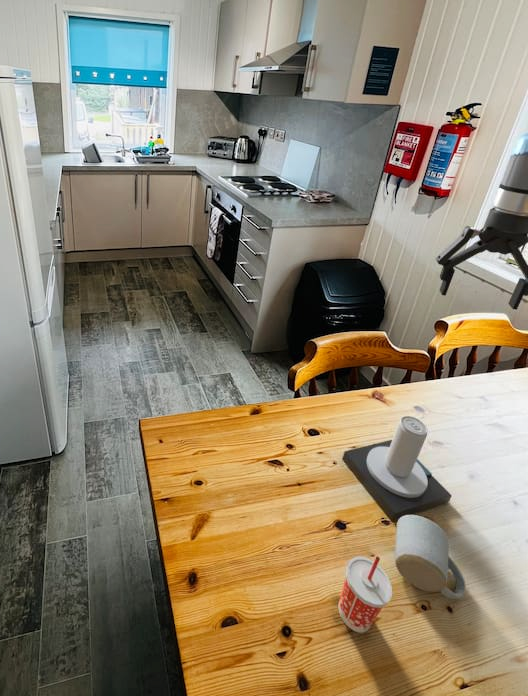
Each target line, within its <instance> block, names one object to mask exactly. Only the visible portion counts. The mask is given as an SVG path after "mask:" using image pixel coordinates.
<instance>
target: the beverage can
mask: <svg viewBox="0 0 528 696" xmlns="http://www.w3.org/2000/svg"><path fill="white" fill-rule="evenodd" d="M428 430H429V429H428V427H427V425H426V424H425V423H424V422H423V421H422V420H420V419H418V418H416V417H413V416H410V415H405V416H402V417H401V419H400V420H399V422H398V424H397V426H396V429H395V432H394V435H393V436H392V439H391V440H392V442H391V445H390V447H389V450H388V453H387V455H386V458H385V465H386V467H387V469H388V470H389V471H390V472H391V473H392V474H394V475H395V476H398V477H408V476H409V475H410V474H411V472H412V469H413V467H414V465H415V462H416V460H417V459H418V457H419V455H420V453H421V450H422V449H423V446H424V443H425V441H426V439H427V436H428Z"/></svg>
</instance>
